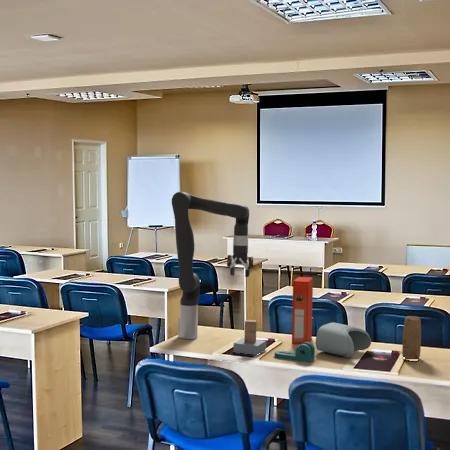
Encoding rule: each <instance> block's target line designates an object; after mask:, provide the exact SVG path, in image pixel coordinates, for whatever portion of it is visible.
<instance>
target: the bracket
mask: <svg viewBox="0 0 450 450" xmlns="http://www.w3.org/2000/svg"><path fill="white" fill-rule="evenodd" d="M315 349H316V347H315V346H314V344H313V343H311V342H310V341H309V342H304V343H303V344H301V345H297V347H296V349H295V351H287V350H275V351H274V358H275V359H281V360H288V361H293V362H294V361H295V362H301V363H307V364H309V363H312V361H315V352H316V351H315Z"/></svg>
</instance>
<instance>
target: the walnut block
mask: <svg viewBox="0 0 450 450" xmlns="http://www.w3.org/2000/svg"><path fill="white" fill-rule="evenodd" d="M244 338H245V339H244V343H255V342H256V340H257V320H256V319H245V320H244Z"/></svg>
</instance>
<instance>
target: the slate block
mask: <svg viewBox="0 0 450 450" xmlns="http://www.w3.org/2000/svg"><path fill="white" fill-rule="evenodd" d="M244 339H245V337H242V338H241V339H238V340H236V341H235V342H233V350H232V351H233V352H235V353H234V354H240V353H244V354H243V355H247V354H253V355H252V356H255V355H257V354H259V353H261V352H262V351H264V350H265V349H266V350H267V340H261V339H256V342H255V343H244ZM233 352H232V353H233ZM264 352H265V351H264ZM262 353H263V352H262ZM262 353H261V354H262ZM259 355H260V354H259Z"/></svg>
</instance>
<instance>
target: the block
mask: <svg viewBox="0 0 450 450" xmlns="http://www.w3.org/2000/svg"><path fill="white" fill-rule="evenodd" d="M421 321H422V320H421V317H420V316H416V315H407V316H406V317H405V319H404V322H403V323H404V324H403V333H402V349H401V350H402V352H401V353H402V356H403V357H405V358H406V359H419V360H420V358H421V348H422V347H421V346H422V322H421ZM402 356H401V357H402ZM403 357H402V358H403ZM419 357H420V358H419Z"/></svg>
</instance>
